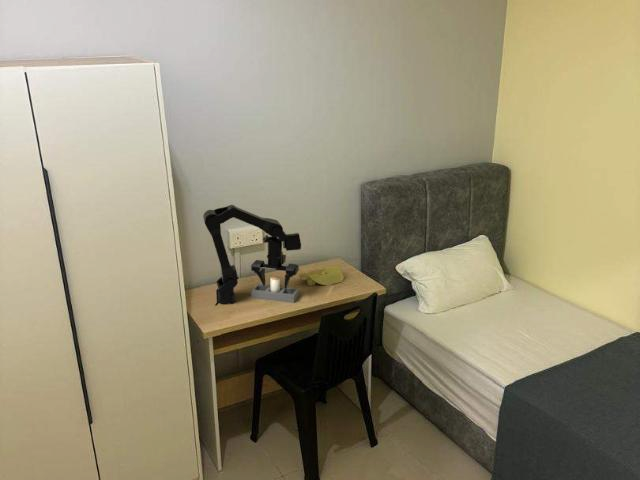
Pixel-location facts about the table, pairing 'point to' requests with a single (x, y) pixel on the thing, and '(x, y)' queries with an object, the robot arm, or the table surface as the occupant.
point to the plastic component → (324, 276)
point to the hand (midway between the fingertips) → (275, 286)
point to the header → (275, 293)
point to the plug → (275, 284)
